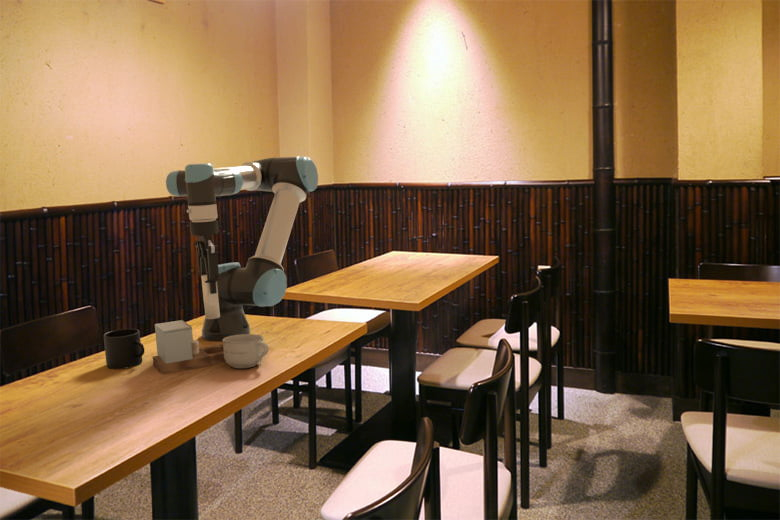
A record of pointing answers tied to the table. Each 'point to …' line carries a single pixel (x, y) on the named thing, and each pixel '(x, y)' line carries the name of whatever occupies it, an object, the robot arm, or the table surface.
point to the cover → (174, 341)
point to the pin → (210, 311)
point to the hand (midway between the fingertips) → (211, 303)
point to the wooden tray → (199, 359)
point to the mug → (123, 348)
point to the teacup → (244, 350)
